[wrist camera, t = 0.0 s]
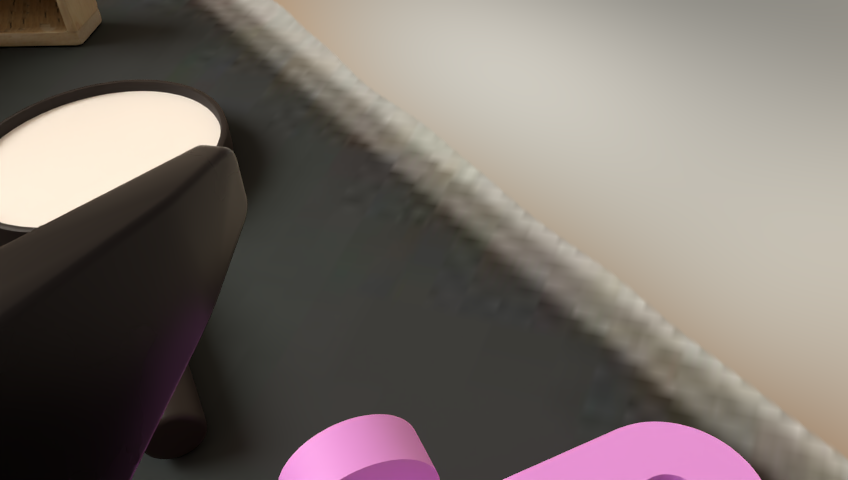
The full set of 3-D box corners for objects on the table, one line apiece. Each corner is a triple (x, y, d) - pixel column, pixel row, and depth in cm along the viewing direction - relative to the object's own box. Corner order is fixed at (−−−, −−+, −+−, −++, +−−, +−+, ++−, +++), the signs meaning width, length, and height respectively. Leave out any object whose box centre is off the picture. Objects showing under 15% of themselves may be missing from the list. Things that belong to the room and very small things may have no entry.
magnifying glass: (-15, 537, 25) (-46, 500, 23) (-32, 149, 41) (-51, 114, 40) (357, 388, 28) (350, 348, 27) (203, 86, 45) (194, 52, 44)
